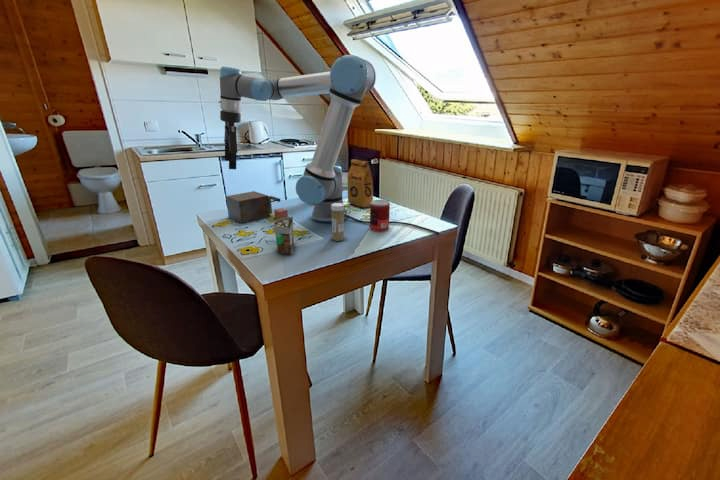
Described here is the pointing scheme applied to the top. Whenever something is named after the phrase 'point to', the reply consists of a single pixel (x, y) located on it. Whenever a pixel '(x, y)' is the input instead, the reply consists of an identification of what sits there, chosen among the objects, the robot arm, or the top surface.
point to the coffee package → (360, 184)
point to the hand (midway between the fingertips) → (230, 164)
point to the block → (280, 213)
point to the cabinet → (247, 206)
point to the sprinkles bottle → (337, 221)
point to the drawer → (272, 201)
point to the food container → (284, 235)
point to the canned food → (379, 215)
